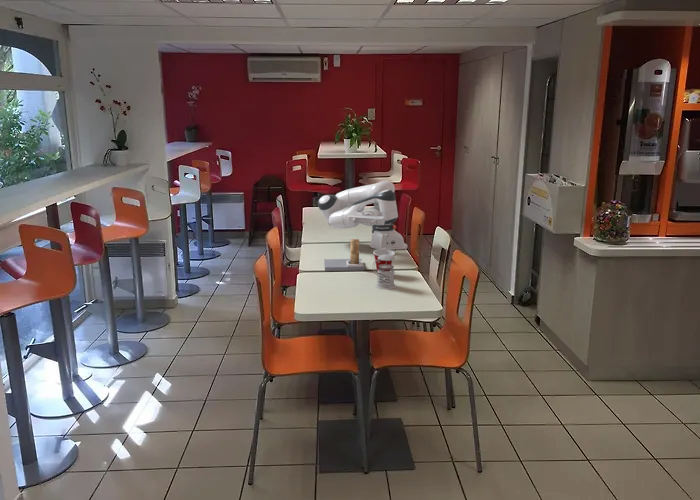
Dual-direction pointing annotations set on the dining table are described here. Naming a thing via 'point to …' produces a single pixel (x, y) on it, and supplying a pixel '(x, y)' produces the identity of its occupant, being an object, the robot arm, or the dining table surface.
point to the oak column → (354, 251)
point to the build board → (342, 265)
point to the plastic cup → (377, 254)
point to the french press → (387, 282)
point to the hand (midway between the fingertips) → (362, 222)
